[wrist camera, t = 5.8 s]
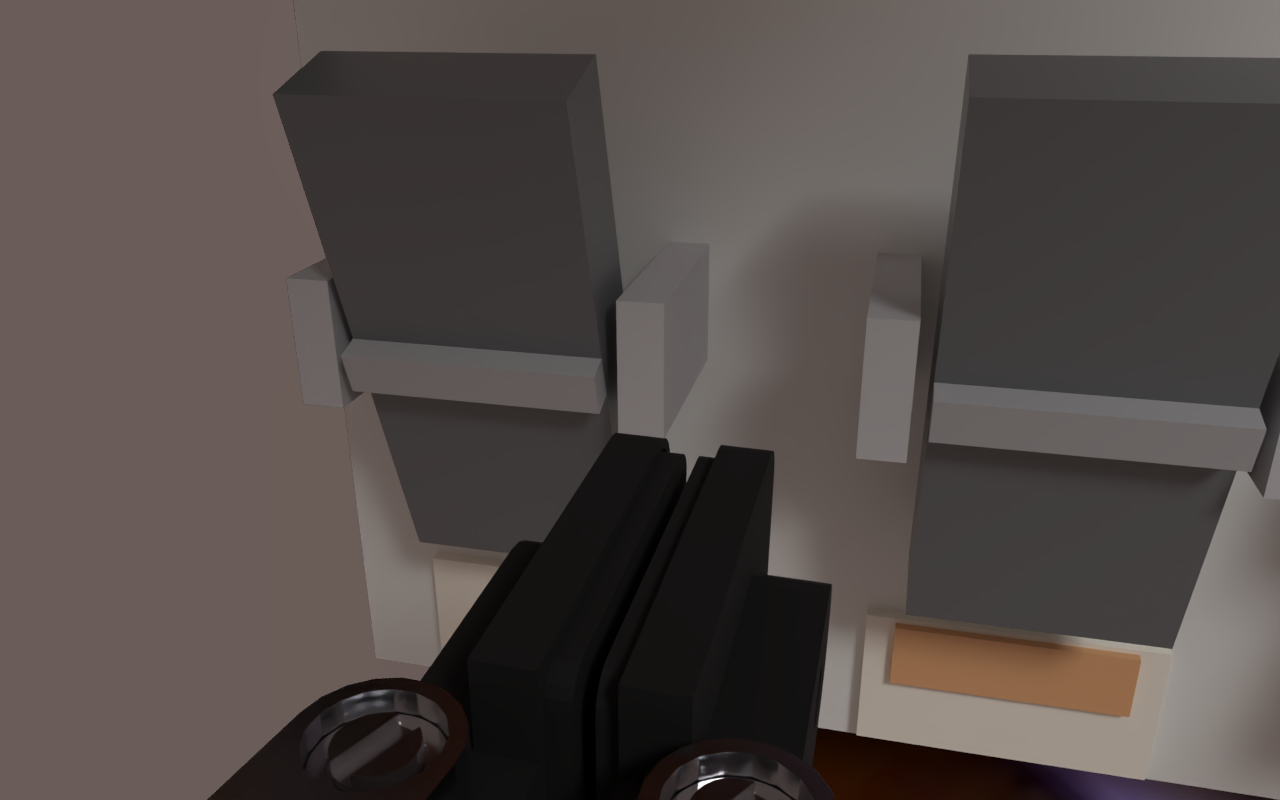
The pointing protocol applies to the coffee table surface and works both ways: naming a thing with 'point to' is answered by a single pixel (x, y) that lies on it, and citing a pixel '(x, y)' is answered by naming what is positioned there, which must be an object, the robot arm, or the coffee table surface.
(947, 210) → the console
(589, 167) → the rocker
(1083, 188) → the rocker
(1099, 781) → the coffee table surface
